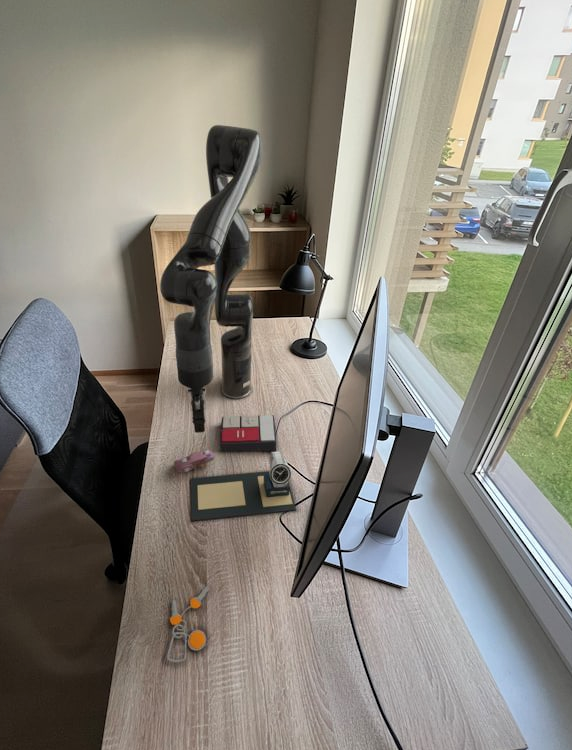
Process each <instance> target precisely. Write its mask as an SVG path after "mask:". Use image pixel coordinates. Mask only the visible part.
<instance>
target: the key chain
mask: <svg viewBox="0 0 572 750" xmlns="http://www.w3.org/2000/svg"><path fill="white" fill-rule="evenodd" d="M209 591H210V588H209V586H205V587H204V588H203V590H201V592H200V593H199V594H198V596H196V597H192V598H191V599H190V601H189V604H190V605H189V606H187V607H186V608H185V609H183V611H182V612H181V614H180V613H178V606H177V605H178V604H177V600H176V599H173V600H171V602H170V604H171V608H170V610H171V616H170V617H169V622H170V624H171V625H172V626H173V627H172V629H171V634H172V636H171V640H170V642H169V646H168V650H167V654H166V661H168V662H169V663H175V664H177V663H178V664H179V663H182V662H183V663H184V662H186V660H187V656H188V655H187V644H188V648H190V650H192V651H193V652H199V651H201V650H203V649H204V647H205V645H206V643H207V636H206V633H205V632H204V631H203V630H201V629H195V630H193V631H192V632H191V633H190V634H188V633H186V628H187V621H186V620H184V619H182V618H183V616H184V614H185V613H186V611H188V610H189V609H193V610H194V609H199V608H200V607H201V606H202V601H203V598H205V597H206V595H207V592H209ZM181 622H183V623H184V625H182V624H180V623H181ZM180 628H181V629H180ZM175 629H176V630H177V632H175ZM187 637H188V638H187ZM182 638H183V641H184V654H183V658H181V659H172V658H170V655H171V650H172V646H173V642H174V640H175V639H182Z"/></svg>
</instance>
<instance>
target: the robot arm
mask: <svg viewBox="0 0 572 750" xmlns="http://www.w3.org/2000/svg"><path fill="white" fill-rule="evenodd" d="M206 136H207V137H206V143H205V156H206V157H205V160H206V161H205V162H206V171H207V179H208V187H209V195H210V199H208V200H207V202H205V203H204V204H203V205H202V206H201V208H199V210H198V211H197V212H196V214H195V216H194V218H193V220H192V222H191V224H190V228H189V230H188V233H187V236H186V238H185V241H184V243H183V244H182V246H181V247H180V248H179V250H178V251H177V252H176V254H174V256H173V257H172V259H171V260H170V261H169V262H168V264H167V265H166V267H165V269H164V270H163V272H162V274H161V277H160V281H159V282H160V283H159V288H160V293H161V297H162V298H163V299H164V300H165V301H166V302H168V303H171V304H174V305H180V306H185V307H186V306H187V307H192V308H193V309H194V310H189V311H183V312H180V313H179V314H177V315H176V316H175V318H174V323H173V329H174V337H175V339H174V340H175V360H176V369H177V378H178V382H179V383H180V384H181V385H182V386H184V387H186V388H187V397H188V400H189V410H190V411H191V412H192V424H193V425H194V432H195V433H196V434H200V433H205V431H206V430H205V428H206V427H205V423H206V416H205V410H206V408H207V402H206V401H207V400H206V396H207V388H206V386H208V385H209V384H211V383H212V381H213V380H214V359H213V348H212V343H211V342H212V341H211V319H212V313H213V309H214V319H215V321H216V324H217V325H218V326H219V327H224V328H225V327H226V328H227V327H228V328H233V327H234V328H233V329H230V330H227V331H225V332H224V333H222V335H221V337H220V351H221V352H220V355H221V358H220V359H221V392H222V394H223V395H224V396H225V397H227V398H229V399H233V400H234V399H236V400H237V399H244V398H246V397H247V396H249V395H250V393H251V392H252V345H253V344H252V336H253V335H252V334H253V333H252V330H253V318H254V300H253V298H252V296H251V294H249V293H229V290H230V287H231V285H232V284H233V283H234V281H235V280H236V278H237V277H238V276H239V275H240V273H241V272H242V271H243V269H244V268H245V267H246V265H247V263H248V262H249V259H250V256H251V229H250V227H249V224H248V222H247V219H246V218H245V216H244V215H243V213H242V211H241V210H240V208H241V206H242V204H243V202H244V200H245V198H246V196H247V194H248V193H249V191H250V189H251V187H252V185H253V183H254V181H255V179H256V177H257V175H258V172H259V170H260V167H261V163H262V159H263V148H264V147H263V145H264V144H263V138H262V136H261V133H259V131H258V130H255V129H252V128H247V127H238V126H231V125H221V124H215V125H213V126H211V127H210V129H209V130H208V132H207V135H206ZM229 178H231V179H230V181H229ZM213 265H214V274H213V273H212V272H211V271H209V270H207V269H201V268H202V267H209V266H213Z"/></svg>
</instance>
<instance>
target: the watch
mask: <svg viewBox="0 0 572 750" xmlns="http://www.w3.org/2000/svg"><path fill="white" fill-rule="evenodd" d="M269 471H270V472H269V474H264V481H263V483H264V488H265V493H266V497H276V496H286V495H289V491H290V488H291V485H289V484H290V479H291V477H292V475H293V470H292V469H291V468H290V466H289V464H288V462H287V460H286V459H285V457H284V454H283V452H282V451H280V450H279V451H270V457H269Z"/></svg>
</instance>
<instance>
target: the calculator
mask: <svg viewBox="0 0 572 750" xmlns="http://www.w3.org/2000/svg"><path fill="white" fill-rule="evenodd" d="M275 421H276V420H275V415H274V414H260V415H258V414H247V415H246V414H245V415H224V416H222V417H221V423H220V425H221V426H220V439H219V446H220V452H247V451H249V452H250V451H260V452H268V453H269V452H277V434H276V433H277V432H276V422H275Z"/></svg>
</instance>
